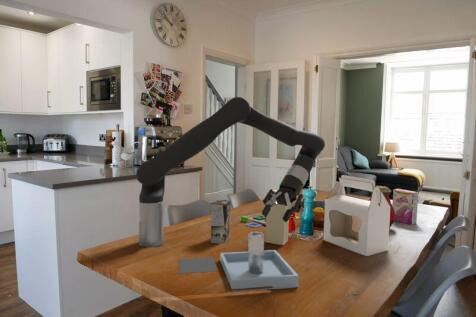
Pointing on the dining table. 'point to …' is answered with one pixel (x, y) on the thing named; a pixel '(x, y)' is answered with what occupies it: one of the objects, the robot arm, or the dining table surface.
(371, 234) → the gable box
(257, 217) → the shape sorter
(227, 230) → the coffee box
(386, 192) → the bottle
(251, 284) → the tray
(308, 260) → the dining table surface
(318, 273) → the dining table surface
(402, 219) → the candy bar box
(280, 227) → the beige rectangular block
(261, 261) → the bushing
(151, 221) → the robot arm
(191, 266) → the mat
